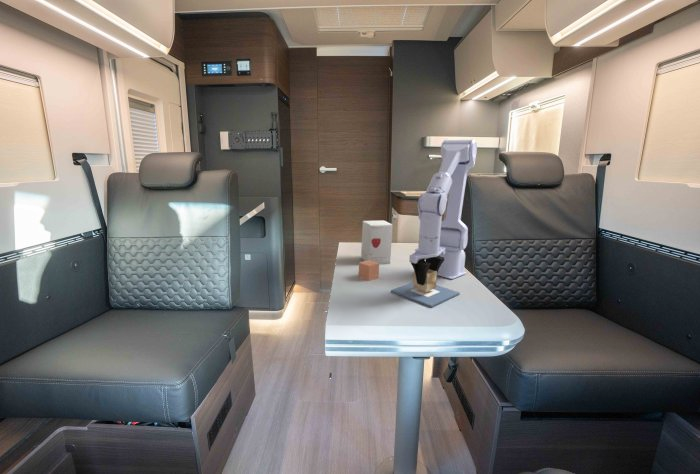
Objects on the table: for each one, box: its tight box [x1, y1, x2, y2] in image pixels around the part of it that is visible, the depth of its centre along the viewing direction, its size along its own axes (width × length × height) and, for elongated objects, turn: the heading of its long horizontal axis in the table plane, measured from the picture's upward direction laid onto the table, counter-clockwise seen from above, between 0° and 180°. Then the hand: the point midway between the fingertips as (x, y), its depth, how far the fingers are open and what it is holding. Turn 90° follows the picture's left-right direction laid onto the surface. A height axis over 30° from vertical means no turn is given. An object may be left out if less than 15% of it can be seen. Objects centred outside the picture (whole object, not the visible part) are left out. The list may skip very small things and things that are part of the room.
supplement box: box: [360, 219, 393, 265], centre depth 126 cm, size 9×9×15 cm
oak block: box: [412, 269, 438, 292], centre depth 97 cm, size 5×5×5 cm
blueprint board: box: [390, 281, 461, 309], centre depth 98 cm, size 14×14×1 cm
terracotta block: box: [358, 260, 380, 281], centre depth 109 cm, size 5×5×5 cm
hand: (426, 282), depth 97 cm, fingers closed on oak block, 4 cm apart
